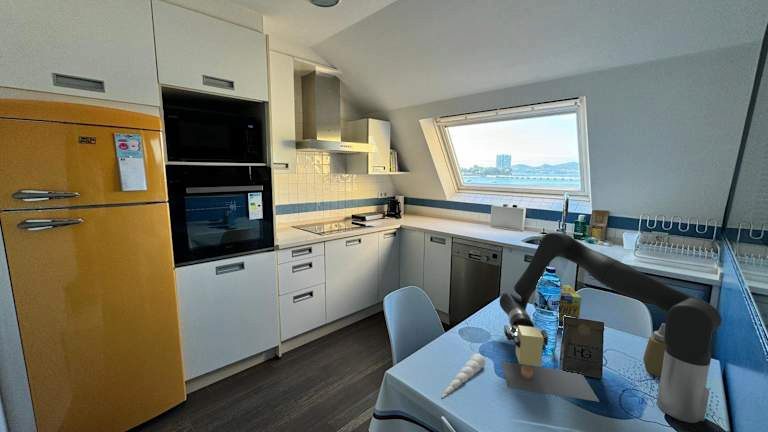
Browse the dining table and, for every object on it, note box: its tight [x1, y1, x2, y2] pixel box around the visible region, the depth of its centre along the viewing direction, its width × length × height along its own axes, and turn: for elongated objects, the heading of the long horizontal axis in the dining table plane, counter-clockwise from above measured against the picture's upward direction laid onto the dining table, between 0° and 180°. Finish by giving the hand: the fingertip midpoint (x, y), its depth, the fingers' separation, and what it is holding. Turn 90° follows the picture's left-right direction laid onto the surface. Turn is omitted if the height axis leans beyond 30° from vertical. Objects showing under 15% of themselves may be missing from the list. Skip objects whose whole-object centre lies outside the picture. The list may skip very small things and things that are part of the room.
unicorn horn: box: [441, 353, 486, 399], centre depth 103 cm, size 5×24×5 cm, turn 132°
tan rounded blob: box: [521, 364, 533, 380], centre depth 104 cm, size 4×4×3 cm
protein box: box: [559, 284, 582, 327], centre depth 144 cm, size 10×15×16 cm
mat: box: [501, 361, 601, 403], centre depth 103 cm, size 26×14×1 cm, turn 77°
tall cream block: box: [515, 325, 544, 367], centre depth 103 cm, size 6×6×10 cm
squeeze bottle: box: [642, 323, 666, 378], centre depth 107 cm, size 8×8×18 cm
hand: (530, 346), depth 100 cm, fingers closed on tall cream block, 6 cm apart
